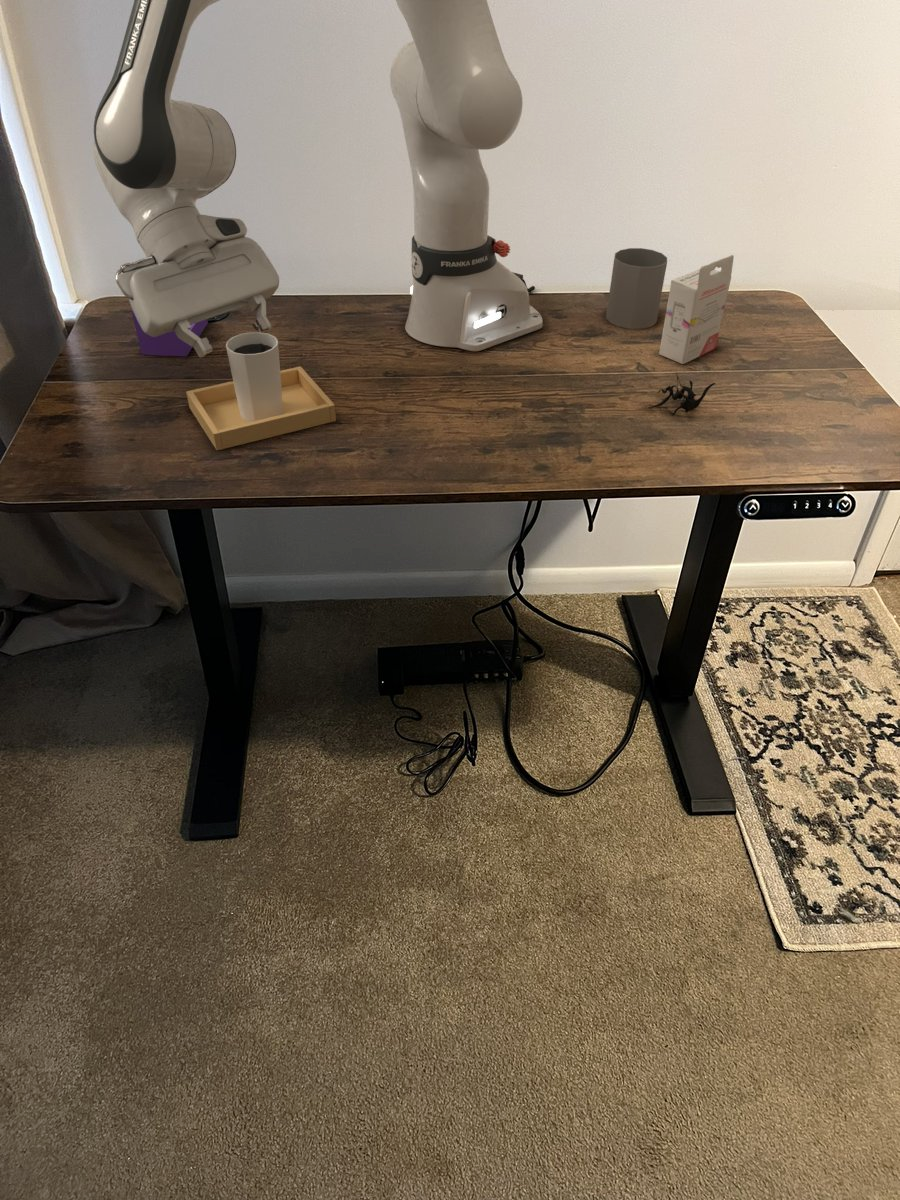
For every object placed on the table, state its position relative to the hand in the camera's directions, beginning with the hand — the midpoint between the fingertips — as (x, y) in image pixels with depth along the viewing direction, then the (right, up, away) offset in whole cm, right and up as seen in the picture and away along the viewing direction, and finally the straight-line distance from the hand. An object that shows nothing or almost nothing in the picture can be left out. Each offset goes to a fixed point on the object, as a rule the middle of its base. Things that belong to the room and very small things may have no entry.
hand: (237, 342), depth 114 cm
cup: (+58, +13, +30) cm, 67 cm away
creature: (+60, -7, +8) cm, 61 cm away
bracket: (-15, +7, +22) cm, 27 cm away
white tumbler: (+2, -8, +4) cm, 10 cm away
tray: (+2, -8, +4) cm, 10 cm away
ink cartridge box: (+65, +5, +21) cm, 68 cm away
